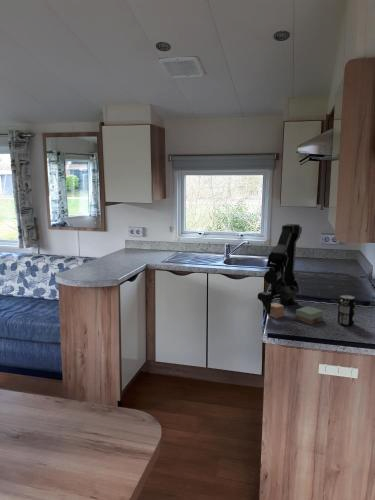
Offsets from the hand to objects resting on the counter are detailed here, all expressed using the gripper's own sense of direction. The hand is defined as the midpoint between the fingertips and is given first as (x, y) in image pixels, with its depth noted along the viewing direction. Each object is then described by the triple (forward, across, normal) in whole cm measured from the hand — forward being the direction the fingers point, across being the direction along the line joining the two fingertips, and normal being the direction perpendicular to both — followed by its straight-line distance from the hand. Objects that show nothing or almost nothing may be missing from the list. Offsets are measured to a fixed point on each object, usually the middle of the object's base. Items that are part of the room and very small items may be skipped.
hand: (275, 312), depth 176 cm
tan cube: (+2, 0, 0) cm, 2 cm away
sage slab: (0, +8, -12) cm, 14 cm away
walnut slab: (+2, +8, -12) cm, 15 cm away
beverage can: (+2, +17, -24) cm, 29 cm away
